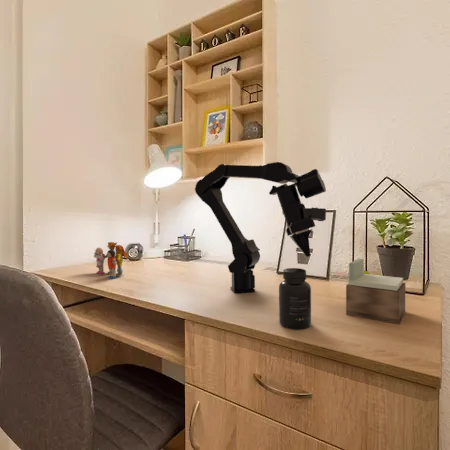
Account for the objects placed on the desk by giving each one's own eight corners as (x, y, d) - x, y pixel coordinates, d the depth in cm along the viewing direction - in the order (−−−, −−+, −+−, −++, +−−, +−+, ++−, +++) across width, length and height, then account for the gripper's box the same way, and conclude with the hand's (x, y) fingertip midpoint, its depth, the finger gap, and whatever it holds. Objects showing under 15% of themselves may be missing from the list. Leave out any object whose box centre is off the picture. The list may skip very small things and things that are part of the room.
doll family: (92, 272, 129) (91, 241, 128) (114, 269, 135) (113, 240, 135) (112, 280, 113) (111, 245, 113) (136, 276, 120) (135, 243, 119)
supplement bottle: (275, 319, 69) (275, 267, 69) (304, 318, 70) (304, 266, 69) (284, 331, 62) (283, 273, 62) (316, 329, 63) (316, 272, 62)
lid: (348, 284, 71) (348, 263, 71) (359, 277, 79) (359, 258, 79) (397, 290, 65) (397, 267, 65) (403, 282, 73) (403, 261, 73)
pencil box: (346, 314, 72) (346, 285, 71) (356, 304, 80) (357, 277, 79) (399, 324, 65) (399, 292, 65) (405, 311, 73) (405, 283, 73)
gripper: (324, 189, 77) (344, 247, 75) (313, 200, 95) (329, 247, 94) (282, 203, 78) (301, 260, 77) (279, 211, 97) (294, 258, 95)
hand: (308, 256), depth 85 cm, fingers closed
